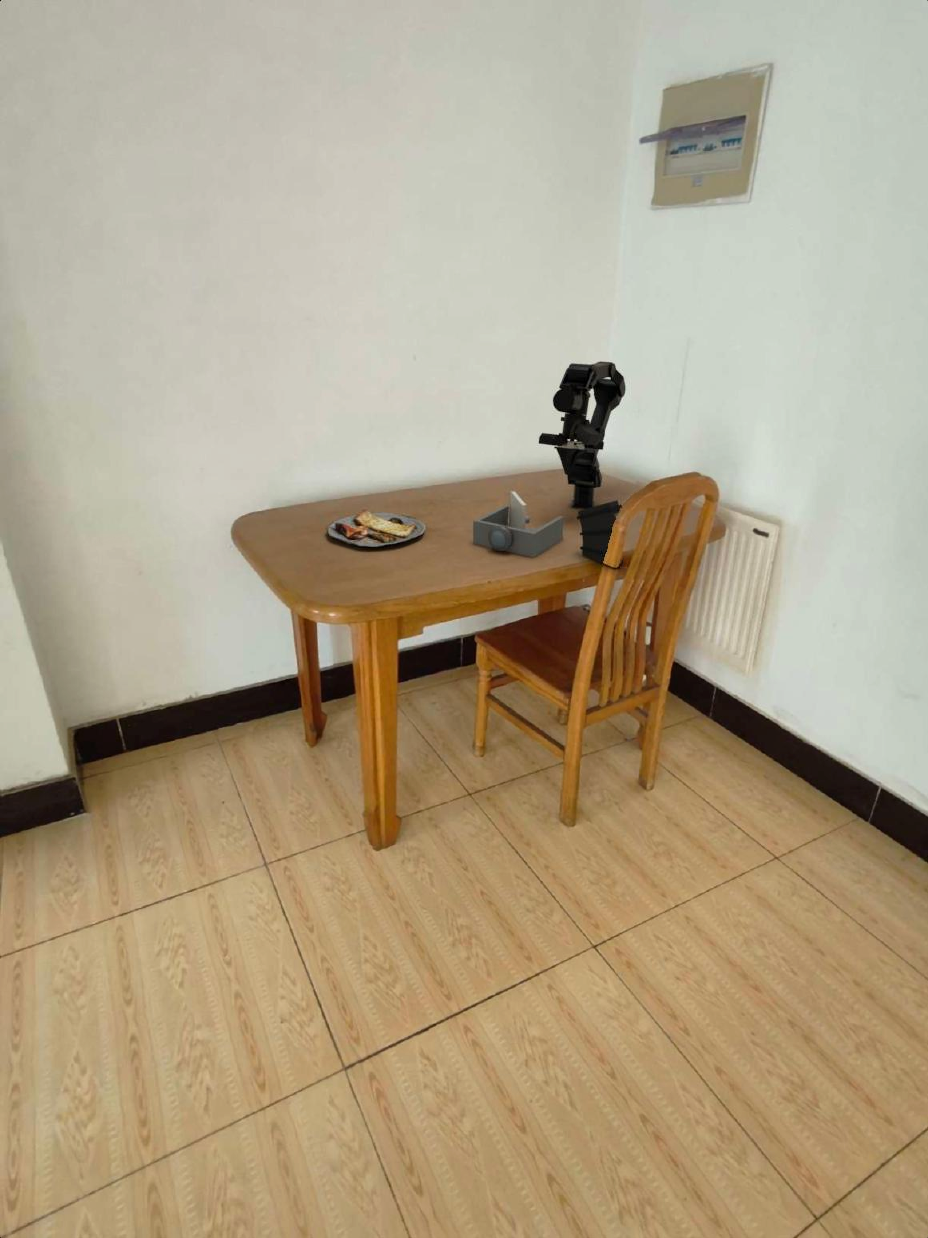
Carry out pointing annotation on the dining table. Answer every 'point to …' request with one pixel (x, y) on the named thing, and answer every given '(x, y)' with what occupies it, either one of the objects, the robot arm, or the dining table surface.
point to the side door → (517, 512)
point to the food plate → (375, 528)
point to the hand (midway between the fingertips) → (567, 474)
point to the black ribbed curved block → (598, 529)
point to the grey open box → (515, 534)
